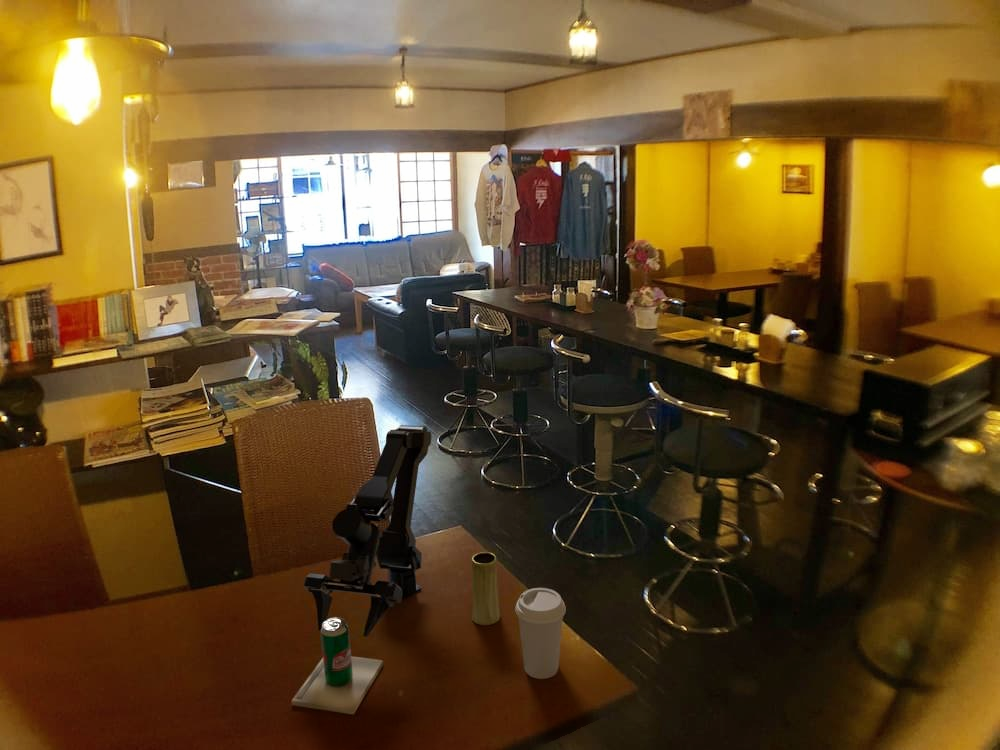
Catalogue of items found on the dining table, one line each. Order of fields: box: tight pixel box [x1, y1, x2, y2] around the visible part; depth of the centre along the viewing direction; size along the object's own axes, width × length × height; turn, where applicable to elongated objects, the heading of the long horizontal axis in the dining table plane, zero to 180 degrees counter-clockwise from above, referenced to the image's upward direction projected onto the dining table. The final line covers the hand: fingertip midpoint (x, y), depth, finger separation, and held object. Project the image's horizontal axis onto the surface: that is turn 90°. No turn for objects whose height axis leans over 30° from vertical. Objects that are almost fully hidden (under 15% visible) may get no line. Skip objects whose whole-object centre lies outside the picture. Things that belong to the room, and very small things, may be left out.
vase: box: [471, 551, 501, 626], centre depth 157 cm, size 6×6×14 cm
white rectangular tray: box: [291, 655, 384, 715], centre depth 138 cm, size 14×12×1 cm
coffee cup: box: [514, 587, 567, 680], centre depth 140 cm, size 10×10×15 cm
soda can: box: [319, 616, 353, 687], centre depth 137 cm, size 5×5×12 cm
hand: (342, 633), depth 139 cm, fingers open, 9 cm apart
